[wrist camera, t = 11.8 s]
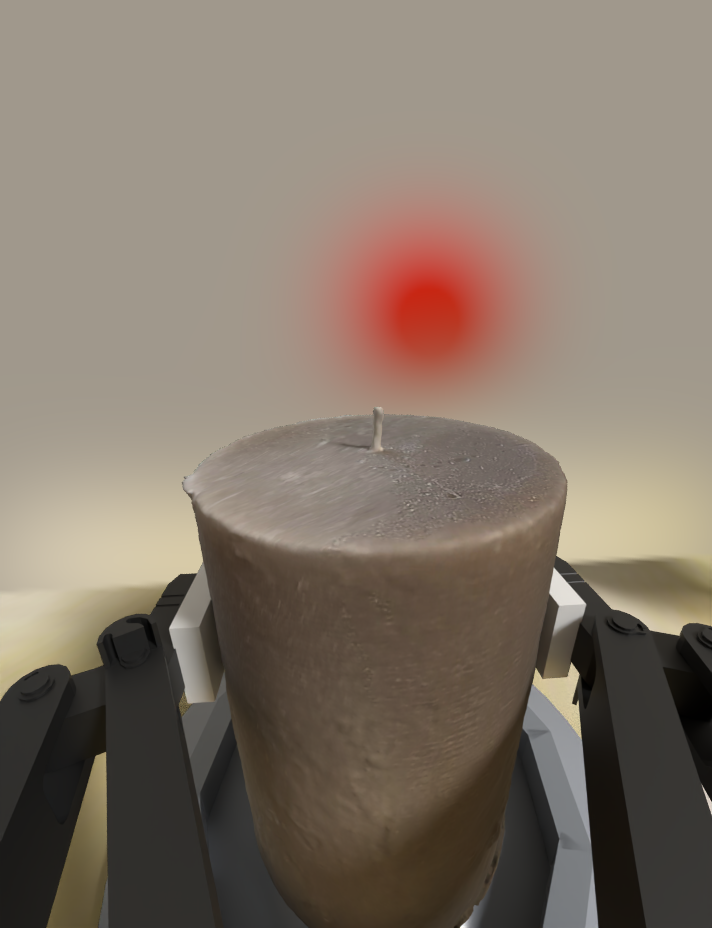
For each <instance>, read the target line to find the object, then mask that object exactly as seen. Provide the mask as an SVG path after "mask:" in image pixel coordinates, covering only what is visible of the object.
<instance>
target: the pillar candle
mask: <svg viewBox="0 0 712 928" xmlns="http://www.w3.org/2000/svg"><path fill="white" fill-rule="evenodd" d="M373 414H374V415H357V416H352V415H345V416H340V417H334V418H320V419H313V420H308V421H303V422H298V423H297V424H292V425H286V426H284V427H283V426H282V427H276V428H273V429H268V430H264V431H262V432H257V433H254V434H252V435H248V436H245V437H243V438H241V439H238V440H236V441H235V442H233V443H231V444H229V445H228V446H226V447H223V448H221V449H219V450H217V451H215V452H214V453H212V454H210V456H209V457H207V458H206V459H205V460H203V461H202V462H201V463H200V464H199V465H198V467H197V469H195V471H194V473H193V474H192V475H189V476H186V477H184V478H185V480H184V481H183V482H182V485H183V490H184V491H185V492H186V493H187V494H188V495H189V497H190V498H191V500H192V505H193V510H194V513H195V518H196V522H197V526H198V533H199V541H200V545H201V551H202V556H203V562H204V567H205V571H206V576H207V582H208V588H209V592H210V597H211V600H212V604H213V611H214V618H215V622H216V629H217V634H218V641H219V646H220V652H221V662H222V664H223V666H224V669H225V681H226V692H227V699H228V702H229V706H230V713H231V719H232V723H233V729H234V734H235V739H236V742H237V747H238V751H239V756H240V759H241V765H242V769H243V775H244V780H245V787H246V792H247V795H248V799H249V803H250V807H251V812H252V816H253V823H254V833H255V836H256V841H257V845H258V849H259V852H260V855H261V858H262V860H263V862H264V865H265V867H266V869H267V871H268V874H269V876H270V878H271V880H272V882H273V884H274V886H275V887H276V889H277V891H278V893H279V894H280V896H281V897H282V898H283V900H284V901H285V903H286V905H287V906H288V907H289V908H290V909H291V910H292V911H293V912H294V913H295V915H296V916H297V917H298V918H299V919H300V920H301V921H303V923H304V924H305V925H306V926H307V927H308V928H460V927H461V926H462V925H463V924H464V923H465V922H466V921H467V920H468V919H469V917H470V916H471V915H472V913H473V911H474V910H473V907H474V906H475V905H476V906H479V903H480V901H481V900H483V898H484V897H485V895H486V893H487V891H488V889H489V887H490V884H491V881H492V878H493V876H494V873H495V871H496V868H497V866H498V861H499V857H500V853H501V849H502V843H503V837H504V832H505V814H504V813H505V809H506V804H507V802H508V799H509V790H510V785H512V784H511V777H512V772H513V769H514V765H515V760H516V757H517V751H518V748H519V742H520V737H521V732H522V728H523V721H524V716H525V713H526V709H527V704H528V699H529V696H530V692H531V687H532V683H533V678H534V673H535V668H536V661H537V653H538V647H539V641H540V635H541V631H542V626H543V622H544V617H545V613H546V608H547V603H548V597H549V592H550V586H551V581H552V576H553V569H554V563H555V558H556V554H557V548H558V542H559V536H560V529H561V525H562V520H563V514H564V510H565V504H566V495H567V479H566V477H565V474H564V473H563V471H562V470H561V467H560V466H559V462H558V461H557V460H556V459H555V458H554V457H553V456H551V455H550V454H549V453H547V452H545V451H544V450H543V449H542V448H540V447H539V446H538V445H536V444H535V443H533V442H531V441H529V440H527V439H524V438H522V437H520V436H517V435H515V434H512V433H510V432H508V431H503V430H500V429H496V428H493V427H488V426H484V425H478V424H473V423H468V422H464V421H459V420H453V419H446V418H439V417H425V416H414V415H389V414H384V411H383V409H382V408H380V407H375V408H374V410H373Z"/></svg>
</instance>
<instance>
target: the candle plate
mask: <svg viewBox="0 0 712 928" xmlns="http://www.w3.org/2000/svg"><path fill="white" fill-rule="evenodd" d="M182 723H183V728H184V733H185V738H186V743H187V748H188V753H189V758H190V763H191V767H192V772H193V777H194V782H195V787H196V792H197V797H198V802H199V807H200V812H201V817H202V822H203V827H204V832H205V837H206V842H207V847H208V852H209V857H210V862H211V867H212V872H213V877H214V882H215V887H216V892H217V897H218V902H219V907H220V912H221V917H222V922H223V927H224V928H308V927H307V926H306V925H305V924H304V923H303V921H301V920H300V919H299V918H298V917H297V916H296V915H295V913H294V912H293V911H292V910H291V909H290V908H289V907H288V906H287V905H286V903H285V901H284V900H283V898H282V897H281V896H280V894H279V893H278V891H277V889H276V887H275V886H274V884H273V882H272V880H271V878H270V876H269V874H268V871H267V869H266V867H265V865H264V862H263V860H262V858H261V855H260V852H259V849H258V845H257V841H256V836H255V833H254V823H253V816H252V812H251V807H250V803H249V799H248V795H247V792H246V787H245V780H244V775H243V769H242V765H241V759H240V756H239V751H238V747H237V742H236V739H235V734H234V729H233V723H232V719H231V713H230V706H229V702H228V699H227V692H226V681H225V672H224V673H223V677H222V680H221V683H220V687H219V690H218V693H217V697H216V700H215V702H201V703H193V704H192V705H191V706H190V707H189V708H188V710H187V711H186V712H185V714H184V715H183V716H182ZM511 784H512V785H510V790H509V799H508V802H507V804H506V809H505V813H504V814H505V832H504V837H503V843H502V849H501V853H500V857H499V861H498V866H497V868H496V871H495V873H494V876H493V878H492V881H491V884H490V887H489V889H488V891H487V893H486V895H485V897H484V898H483V900H481V901H480V903H479V906H476V905H475V906H474V907H473V910H474V911H473V913H472V915H471V916H470V917H469V919H468V920H467V921H466V922H465V923H464V924H463V925H462V926H461V927H460V928H598V919H597V907H596V896H595V884H594V873H593V861H592V850H591V838H590V827H589V815H588V804H587V792H586V781H585V769H584V758H583V746H582V740H581V739H580V737H579V736H578V734H577V733H576V732H575V730H574V729H573V728H572V726H571V725H570V724H569V722H568V721H567V720H566V719H565V718H564V717H563V715H562V714H561V713H560V712H559V711H558V710H557V709H556V708H555V706H554V705H553V704H552V703H551V702H550V701H549V700H548V699H547V697H545V696H544V695H543V694H542V693H541V692H540V691H539V690H538V689H537V688H536V687H535V686H534V685H533V684H532V687H531V692H530V696H529V699H528V704H527V709H526V713H525V716H524V721H523V728H522V732H521V737H520V742H519V748H518V751H517V757H516V760H515V765H514V769H513V772H512V777H511ZM98 928H108V878H107V882H106V886H105V892H104V897H103V903H102V908H101V914H100V919H99V925H98Z"/></svg>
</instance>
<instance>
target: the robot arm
mask: <svg viewBox="0 0 712 928" xmlns="http://www.w3.org/2000/svg"><path fill="white" fill-rule="evenodd" d="M97 647H98V650H99V652H100V655H101V658H102V661H103V664H104V665H103V666H100V667H98V668H95V669H91V670H88V671H85V672H82V673H78V674H75V675H72V676H71V673H70V671H69V670H68V668H67V667H66V666H63V665H59V664H57V665H48V666H45V667H42V668H39V669H36V670H34V671H32V672H31V673H29V674H27V675H25V676H23V677H22V678H21V679H19V680H18V681H17V682H16V683H15V684H13V685H12V686H11V687H10V688H9V690H8V691H7V692H6V693H5V695H4V696H3V698H2V699H1V701H0V928H46V927H47V923H48V920H49V916H50V913H51V909H52V906H53V902H54V899H55V895H56V892H57V888H58V885H59V881H60V878H61V874H62V871H63V867H64V864H65V860H66V857H67V853H68V850H69V846H70V843H71V839H72V836H73V832H74V829H75V825H76V822H77V818H78V815H79V811H80V808H81V804H82V801H83V797H84V794H85V791H86V787H87V784H88V780H89V777H90V773H91V770H92V766H93V763H94V759H95V756H96V755H99V754H101V753H104V752H106V770H107V855H108V928H224V927H223V922H222V917H221V912H220V907H219V902H218V897H217V892H216V887H215V882H214V877H213V872H212V867H211V862H210V857H209V852H208V847H207V842H206V837H205V832H204V827H203V822H202V817H201V812H200V807H199V802H198V797H197V792H196V787H195V782H194V777H193V772H192V767H191V763H190V758H189V753H188V748H187V743H186V738H185V733H184V728H183V723H182V718H181V713H180V709H179V702H180V699H181V697H182V694H183V692H184V691H185V695H186V699H187V702H188V703H201V702H215V700H216V697H217V693H218V690H219V687H220V683H221V680H222V677H223V673H224V670H225V669H224V666H223V664H222V662H221V652H220V646H219V641H218V634H217V629H216V622H215V618H214V611H213V604H212V600H211V597H210V592H209V588H208V582H207V576H206V571H205V567H204V562H203V563H202V565H201V567H200V569H199V571H198V573H196V574H180V575H179V576H178V577H176V578H175V579H174V580H173V581H172V582H171V583H169V584H168V586H167V587H166V589H165V591H164V592H163V594H162V596H161V598H160V599H159V601H158V602H157V604H156V607H154V609H153V611H152V612H151V614H150V615H147V614H135V615H131V616H127V617H124V618H122V619H120V620H118V621H116V622H114V623H113V624H111V625H110V626H109V627H107V628H106V629H105V630H104V631H103V632H102V634H101V635H100V636H99V638H98V642H97ZM571 662H572V663H573V665H574V666H575V668H576V669H577V671H578V672H579V674H580V675H579V679H578V682H577V686H576V690H575V693H574V697H573V702H572V704H575V705H577V701H578V700H579V712H580V723H581V735H582V746H583V758H584V769H585V781H586V792H587V804H588V815H589V827H590V838H591V850H592V861H593V873H594V884H595V896H596V907H597V919H598V928H712V815H711V812H710V809H709V806H708V803H707V800H706V797H705V794H704V791H703V788H702V785H703V787H704V789H705V791H706V792H707V794H708V796H709V798H710V800H711V801H712V627H711V626H708V625H704V624H699V623H689V624H687V625H685V626H683V628H682V631H681V633H680V636H677V635H671V634H666V633H660V632H655V631H650V630H649V629H648V627H647V626H646V625H645V624H644V623H642V622H641V621H640V620H639V619H637V618H635V617H633V616H632V615H630V614H627V613H625V612H622V611H619V610H612V609H611V608H610V607H609V606H608V605H607V604H606V603H605V602H604V601H603V600H602V598H601V597H600V596H599V595H598V594H597V593H596V592H595V591H594V590H593V589H592V588H591V587H590V586H589V585H588V584H587V583H586V582H584V580H583V579H582V578H581V577H580V576H579V574H576V571H575V570H574V569H573V568H572V567H571V566H570V565H569V564H568V563H567V562H565V561H564V560H562V559H561V558H559V557H557V556H556V558H555V563H554V569H553V576H552V581H551V586H550V592H549V597H548V603H547V608H546V613H545V617H544V622H543V626H542V631H541V635H540V641H539V647H538V653H537V661H536V668H537V670H538V672H539V673H540V675H541V677H542V679H546V678H560V677H567V676H568V672H569V669H570V665H571ZM701 784H702V785H701Z"/></svg>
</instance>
